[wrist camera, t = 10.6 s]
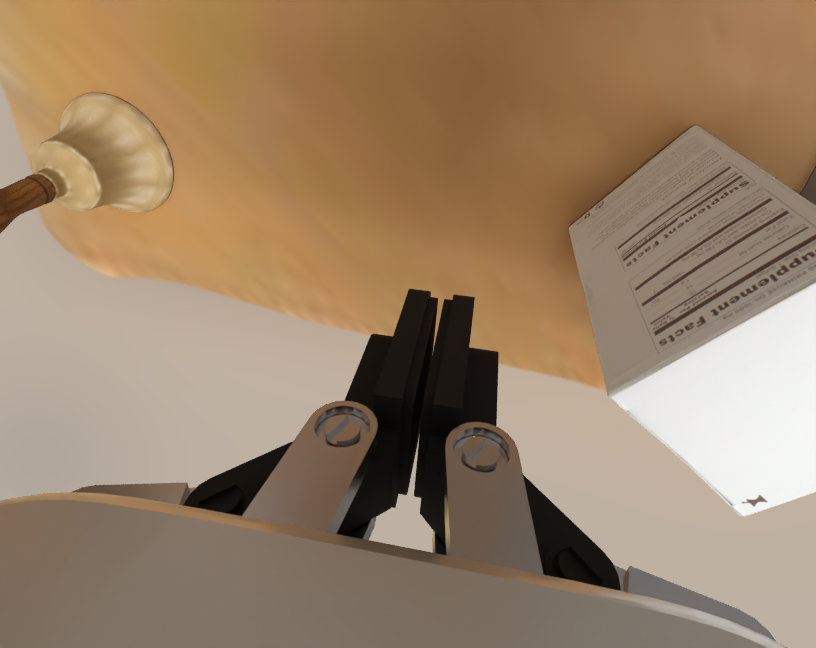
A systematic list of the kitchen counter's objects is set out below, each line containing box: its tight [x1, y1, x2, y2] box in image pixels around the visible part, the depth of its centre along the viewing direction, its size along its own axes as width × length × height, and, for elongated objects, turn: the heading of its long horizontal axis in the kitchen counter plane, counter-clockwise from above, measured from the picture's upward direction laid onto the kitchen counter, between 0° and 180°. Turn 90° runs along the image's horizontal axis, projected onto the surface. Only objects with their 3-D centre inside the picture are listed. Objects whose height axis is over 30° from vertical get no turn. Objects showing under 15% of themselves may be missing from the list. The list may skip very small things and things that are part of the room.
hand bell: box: [0, 93, 174, 233], centre depth 28 cm, size 8×8×16 cm
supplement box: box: [569, 125, 816, 516], centre depth 24 cm, size 10×9×17 cm
